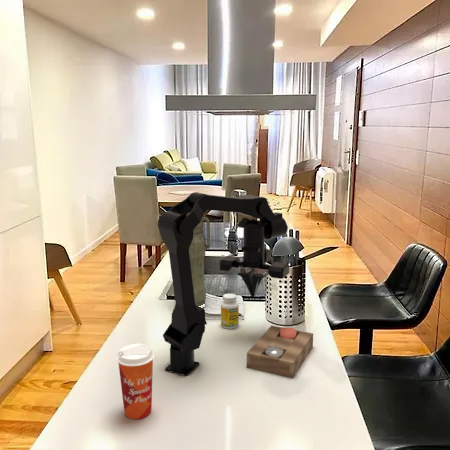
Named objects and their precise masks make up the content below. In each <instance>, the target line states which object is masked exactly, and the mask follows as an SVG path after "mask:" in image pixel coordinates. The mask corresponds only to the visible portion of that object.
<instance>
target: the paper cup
mask: <svg viewBox="0 0 450 450" xmlns="http://www.w3.org/2000/svg"><path fill="white" fill-rule="evenodd" d="M155 356H156V354H155V352H154V349H152V348H151V347H150V346H149V345H147V344H144V343H143V344H142V343H134V344H128V345H125V346H123V347H122V348H120V350H119V352H118V355H117V356H116V362H117V363H118V370H119V379H120V387H121V393H122V401H123V402H122V403H123V410H124V415H125V417H126V418H128V419H129V420H142V419H145V418H147V417H149V416H150V415H151V412H152V403H153V402H152V401H153V369H154V368H153V367H154V365H153V364H154V363H153V362H154V361H153V360H154V358H155Z"/></svg>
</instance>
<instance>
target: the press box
mask: <svg viewBox="0 0 450 450" xmlns="http://www.w3.org/2000/svg"><path fill="white" fill-rule="evenodd" d="M282 328H283V327H282V326H278V325H277V326H276V325H271V326H270V327H269V328H268V329H267V330H266V331H265V332H264V333H263V334H262V335H261V337H260V338H259V339H258V340H257V341H256V342H255V343H254V344H253V345H252V347H250V349H248V351H247V352H246V368H247V369H252V370H255V371H260V372H264V373H269V374H274V375H277V376H281V377H285V378H289V377H290V378H289V379H293V378H294V377H295V375H297V374H296V373H297V372H298V371H299V370H300V368H301V367H302V364H303V363H304V362H305V360H306V358H307V357H308V355H309V353H310V352H311V350H312V349H313V346H314V332H307V331H302V330H297V329H295V330H296V338H295V340H292V339H287V338H282V337H280V329H282ZM269 346H278V347H281V348H282V349H283V356H282V357H281V358H278V357H273V356H268V355H265V351H266V348H267V347H269Z"/></svg>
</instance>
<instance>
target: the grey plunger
mask: <svg viewBox="0 0 450 450" xmlns="http://www.w3.org/2000/svg"><path fill="white" fill-rule="evenodd" d="M283 354H284V352H283V349H282V348H281V347H278V346H269V347H267V348H266V351H265V353H264V355H268V356H273V357H278V358H281V357H282V356H283Z"/></svg>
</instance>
